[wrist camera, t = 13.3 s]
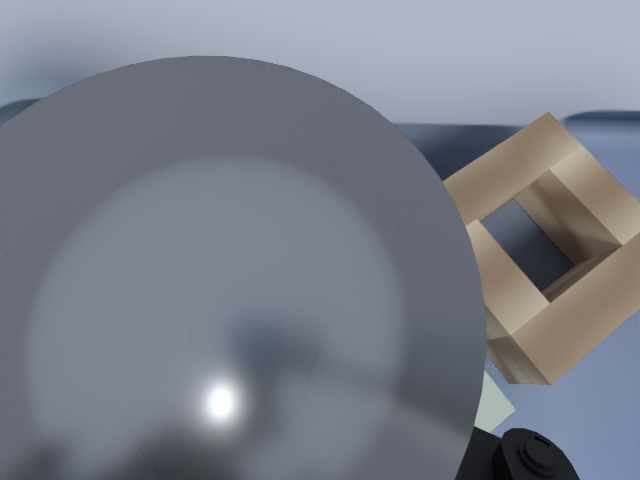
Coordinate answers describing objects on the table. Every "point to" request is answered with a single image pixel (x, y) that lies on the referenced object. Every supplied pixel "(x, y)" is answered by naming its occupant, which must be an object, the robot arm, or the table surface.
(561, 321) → the maple sleeve
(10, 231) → the cylinder
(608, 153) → the table surface
